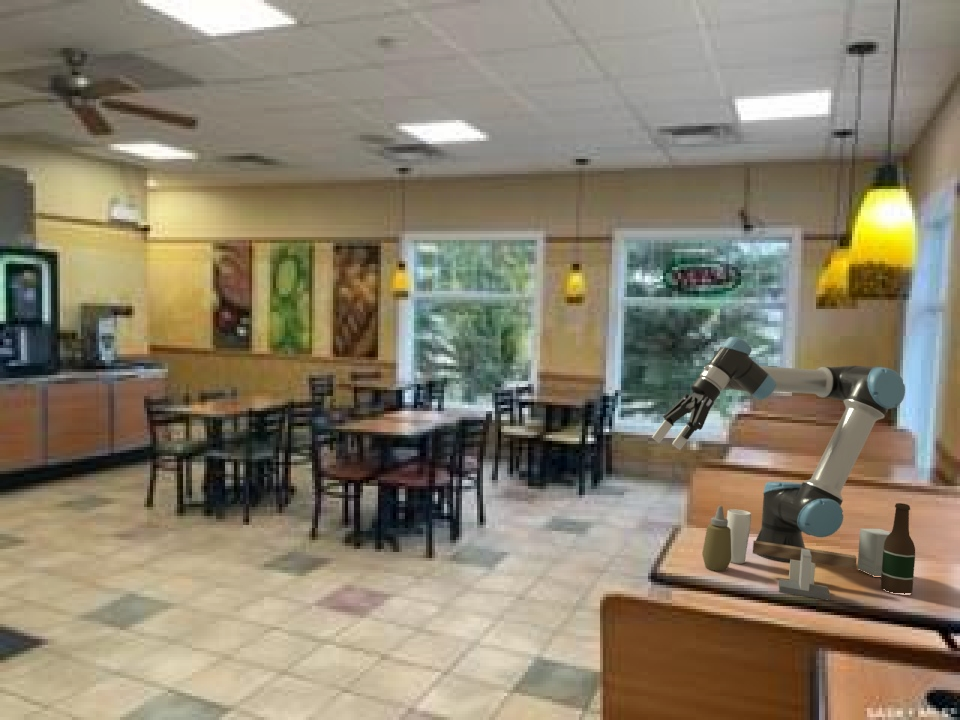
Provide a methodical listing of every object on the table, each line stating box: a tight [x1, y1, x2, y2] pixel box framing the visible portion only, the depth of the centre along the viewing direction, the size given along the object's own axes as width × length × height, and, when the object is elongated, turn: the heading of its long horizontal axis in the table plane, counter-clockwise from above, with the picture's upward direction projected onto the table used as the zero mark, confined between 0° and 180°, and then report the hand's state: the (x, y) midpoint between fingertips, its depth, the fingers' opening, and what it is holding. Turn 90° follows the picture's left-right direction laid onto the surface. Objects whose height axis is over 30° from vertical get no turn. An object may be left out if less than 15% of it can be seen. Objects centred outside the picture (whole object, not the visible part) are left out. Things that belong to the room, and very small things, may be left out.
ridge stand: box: [778, 548, 831, 601], centre depth 189 cm, size 12×7×11 cm, turn 69°
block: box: [788, 559, 816, 584], centre depth 198 cm, size 6×5×6 cm
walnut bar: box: [752, 540, 858, 570], centre depth 198 cm, size 26×3×3 cm, turn 69°
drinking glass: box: [726, 508, 752, 565], centre depth 213 cm, size 7×7×15 cm
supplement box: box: [856, 528, 892, 576], centre depth 210 cm, size 7×7×13 cm
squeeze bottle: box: [701, 505, 731, 572], centre depth 205 cm, size 8×8×18 cm
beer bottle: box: [880, 502, 916, 594], centre depth 194 cm, size 8×8×24 cm
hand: (665, 443), depth 201 cm, fingers open, 13 cm apart
